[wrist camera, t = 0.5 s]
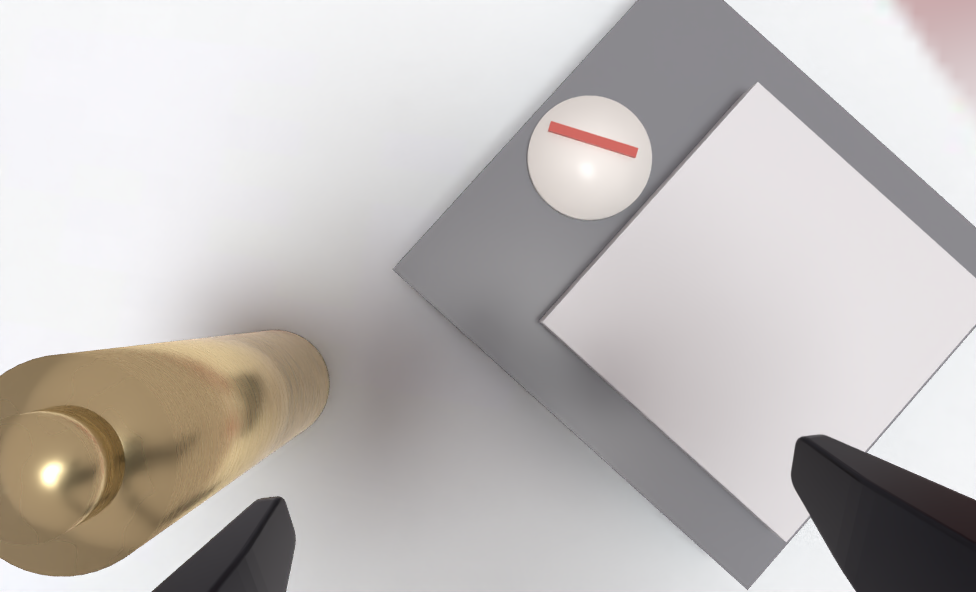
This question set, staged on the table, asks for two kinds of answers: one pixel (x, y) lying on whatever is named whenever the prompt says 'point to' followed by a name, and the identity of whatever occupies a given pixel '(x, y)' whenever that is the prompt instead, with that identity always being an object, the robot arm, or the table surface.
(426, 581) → the table surface
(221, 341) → the brass weight
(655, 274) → the scale
